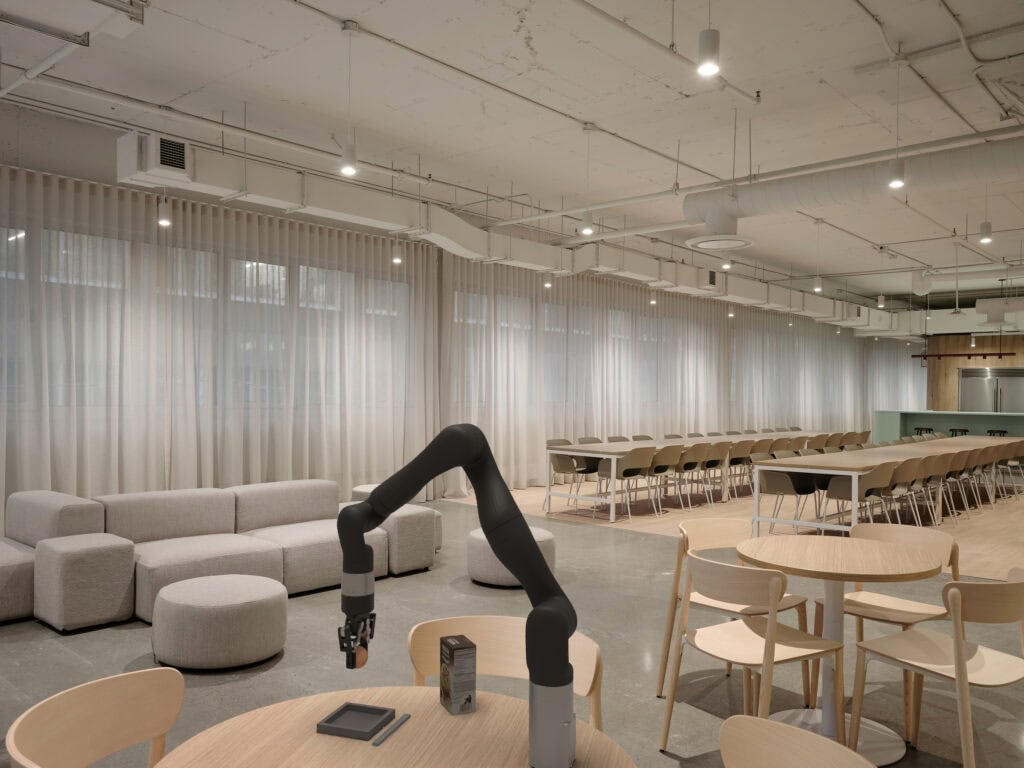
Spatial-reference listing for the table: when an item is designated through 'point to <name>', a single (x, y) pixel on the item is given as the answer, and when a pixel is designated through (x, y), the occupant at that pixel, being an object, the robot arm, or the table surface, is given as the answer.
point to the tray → (356, 721)
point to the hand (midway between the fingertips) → (357, 664)
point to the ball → (361, 657)
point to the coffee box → (457, 674)
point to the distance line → (391, 730)
